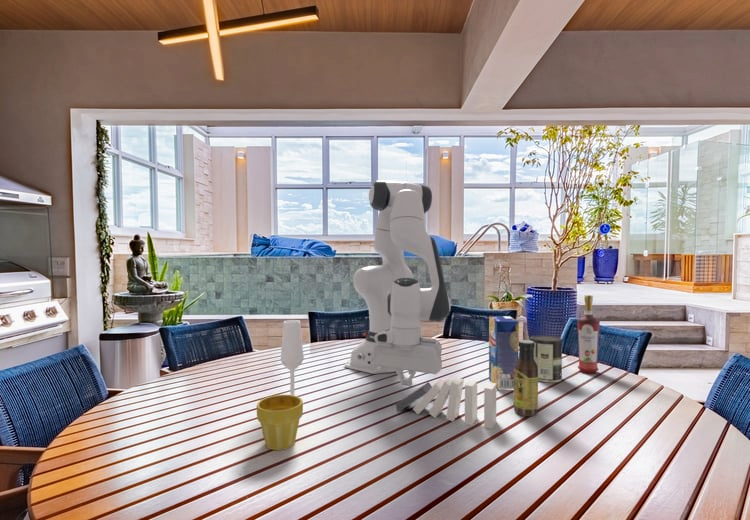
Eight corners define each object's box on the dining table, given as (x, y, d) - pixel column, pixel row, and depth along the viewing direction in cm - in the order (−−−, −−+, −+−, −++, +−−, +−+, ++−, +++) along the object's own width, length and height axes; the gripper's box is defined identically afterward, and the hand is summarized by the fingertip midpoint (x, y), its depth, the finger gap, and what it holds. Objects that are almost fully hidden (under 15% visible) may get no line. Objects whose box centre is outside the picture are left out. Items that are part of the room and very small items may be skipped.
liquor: (600, 370, 154) (600, 295, 153) (598, 375, 148) (599, 297, 147) (578, 367, 158) (578, 294, 157) (575, 372, 152) (576, 296, 151)
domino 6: (484, 427, 105) (484, 388, 105) (488, 420, 110) (488, 382, 109) (492, 428, 104) (492, 389, 104) (496, 421, 109) (496, 383, 109)
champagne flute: (308, 402, 123) (308, 321, 122) (289, 408, 118) (289, 324, 117) (295, 397, 127) (294, 318, 127) (276, 403, 122) (275, 321, 122)
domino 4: (445, 418, 110) (451, 382, 109) (451, 412, 114) (456, 377, 113) (453, 421, 109) (458, 384, 108) (458, 414, 113) (463, 379, 113)
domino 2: (412, 409, 114) (434, 384, 111) (419, 403, 119) (440, 379, 116) (418, 414, 113) (440, 389, 110) (424, 408, 118) (446, 384, 115)
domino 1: (395, 404, 117) (422, 386, 113) (402, 398, 121) (428, 381, 117) (399, 410, 116) (426, 393, 112) (406, 405, 121) (432, 387, 117)
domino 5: (464, 423, 108) (464, 385, 107) (469, 416, 112) (469, 379, 112) (472, 425, 107) (472, 386, 106) (477, 418, 111) (477, 380, 111)
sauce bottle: (510, 408, 118) (510, 338, 117) (532, 408, 118) (533, 338, 117) (518, 417, 111) (518, 343, 111) (541, 417, 111) (542, 343, 111)
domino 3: (428, 413, 112) (443, 382, 110) (434, 407, 116) (449, 377, 114) (435, 417, 111) (450, 386, 109) (441, 411, 116) (456, 381, 114)
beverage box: (509, 379, 144) (509, 316, 143) (518, 390, 133) (518, 321, 132) (488, 379, 144) (489, 316, 144) (496, 390, 133) (496, 321, 133)
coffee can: (554, 373, 151) (555, 335, 150) (567, 382, 140) (567, 341, 140) (526, 373, 151) (526, 334, 150) (536, 382, 140) (536, 341, 140)
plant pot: (280, 459, 89) (280, 414, 89) (247, 447, 95) (246, 404, 95) (312, 440, 98) (311, 399, 98) (280, 430, 104) (279, 391, 103)
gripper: (445, 337, 115) (445, 387, 115) (379, 331, 125) (379, 377, 125) (437, 342, 110) (437, 394, 110) (369, 335, 119) (369, 383, 119)
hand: (406, 385), depth 117 cm, fingers closed
